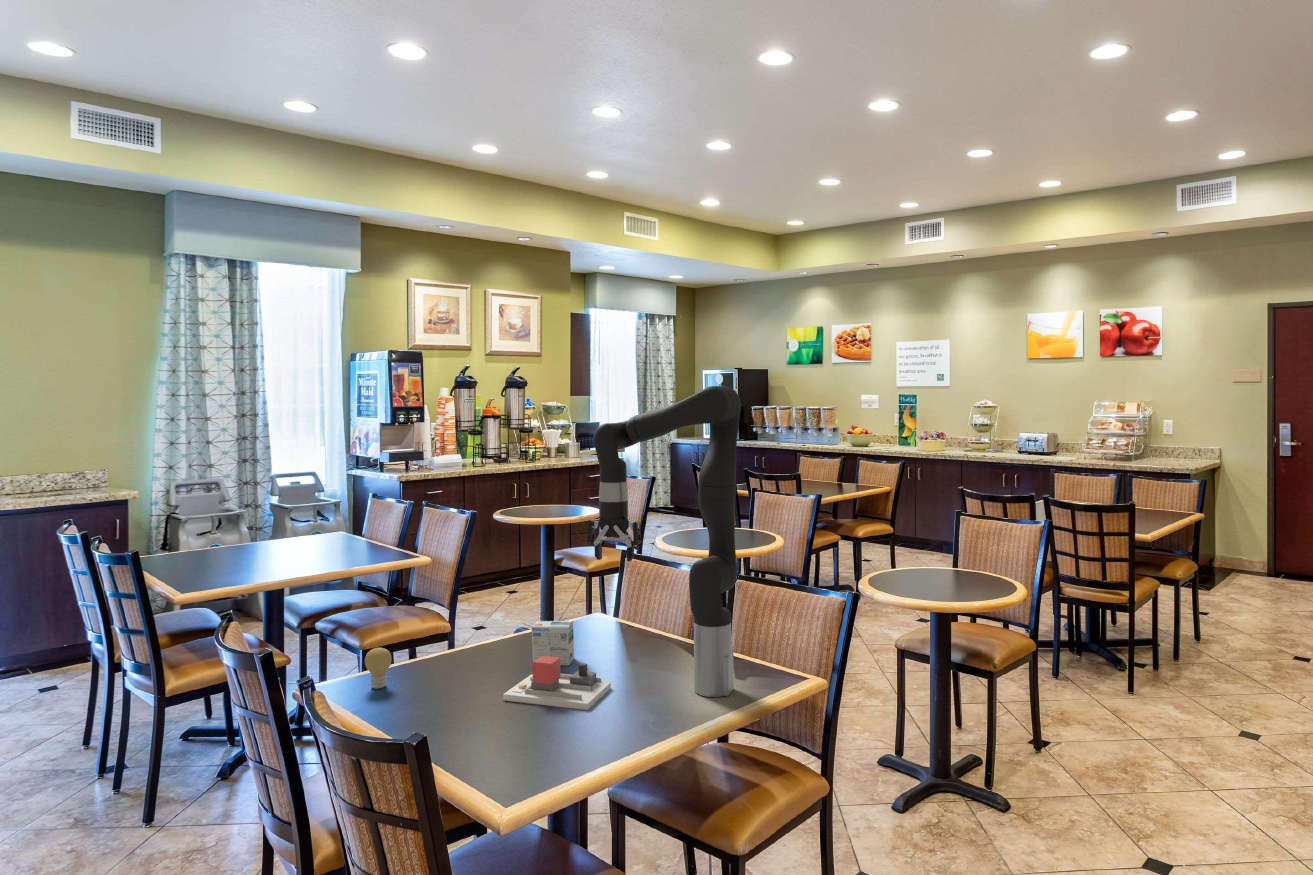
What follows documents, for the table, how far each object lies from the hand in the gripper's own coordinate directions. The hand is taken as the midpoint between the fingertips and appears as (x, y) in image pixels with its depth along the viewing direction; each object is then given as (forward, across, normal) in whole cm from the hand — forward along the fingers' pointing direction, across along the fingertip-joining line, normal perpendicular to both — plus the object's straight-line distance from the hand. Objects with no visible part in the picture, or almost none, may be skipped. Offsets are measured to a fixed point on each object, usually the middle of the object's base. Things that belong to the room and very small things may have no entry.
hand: (614, 560), depth 212 cm
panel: (+30, +8, +19) cm, 36 cm away
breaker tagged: (+28, +10, +21) cm, 37 cm away
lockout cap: (+26, +10, +21) cm, 35 cm away
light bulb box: (+30, +20, -4) cm, 37 cm away
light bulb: (+30, +54, +27) cm, 68 cm away
